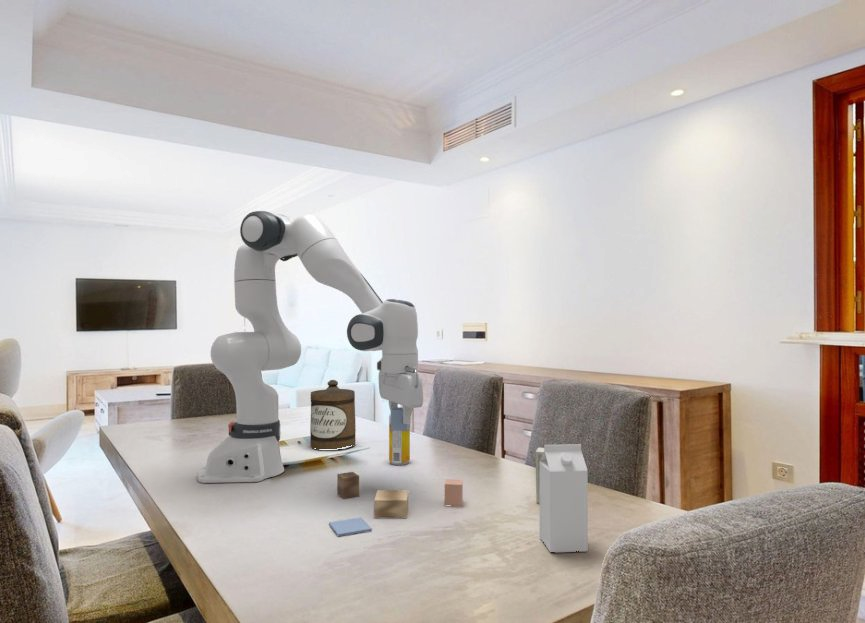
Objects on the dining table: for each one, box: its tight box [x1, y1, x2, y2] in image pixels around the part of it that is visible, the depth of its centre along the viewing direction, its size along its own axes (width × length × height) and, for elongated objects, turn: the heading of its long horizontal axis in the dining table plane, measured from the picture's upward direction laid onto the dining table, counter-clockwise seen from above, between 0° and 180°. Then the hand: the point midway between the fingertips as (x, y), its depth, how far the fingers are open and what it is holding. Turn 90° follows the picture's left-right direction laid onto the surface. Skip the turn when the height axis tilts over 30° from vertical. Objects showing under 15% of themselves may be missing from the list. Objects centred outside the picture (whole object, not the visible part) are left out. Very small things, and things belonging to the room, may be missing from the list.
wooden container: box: [309, 379, 357, 449], centre depth 187 cm, size 15×15×22 cm
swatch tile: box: [328, 517, 373, 537], centre depth 115 cm, size 7×7×1 cm
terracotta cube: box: [444, 478, 464, 507], centre depth 130 cm, size 4×4×5 cm
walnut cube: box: [336, 471, 360, 500], centre depth 135 cm, size 4×4×5 cm
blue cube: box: [390, 406, 411, 431], centre depth 138 cm, size 4×4×5 cm
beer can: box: [388, 412, 411, 466], centre depth 165 cm, size 6×6×15 cm
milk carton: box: [539, 443, 589, 553], centre depth 106 cm, size 7×7×19 cm
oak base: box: [373, 489, 409, 518], centre depth 124 cm, size 7×7×4 cm
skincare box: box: [534, 447, 544, 504], centre depth 131 cm, size 6×4×12 cm
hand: (400, 421), depth 138 cm, fingers closed on blue cube, 6 cm apart
